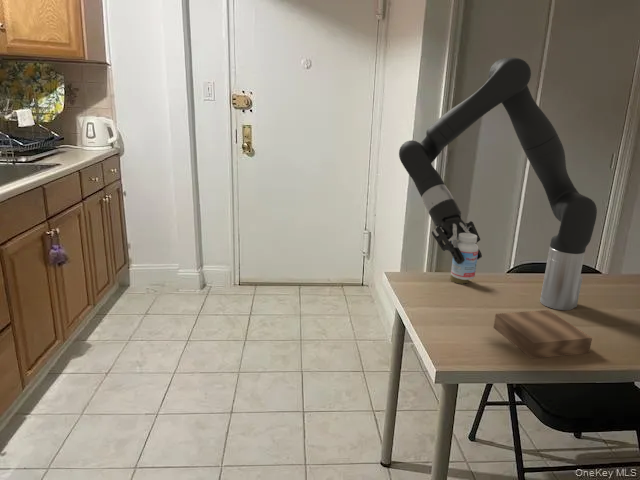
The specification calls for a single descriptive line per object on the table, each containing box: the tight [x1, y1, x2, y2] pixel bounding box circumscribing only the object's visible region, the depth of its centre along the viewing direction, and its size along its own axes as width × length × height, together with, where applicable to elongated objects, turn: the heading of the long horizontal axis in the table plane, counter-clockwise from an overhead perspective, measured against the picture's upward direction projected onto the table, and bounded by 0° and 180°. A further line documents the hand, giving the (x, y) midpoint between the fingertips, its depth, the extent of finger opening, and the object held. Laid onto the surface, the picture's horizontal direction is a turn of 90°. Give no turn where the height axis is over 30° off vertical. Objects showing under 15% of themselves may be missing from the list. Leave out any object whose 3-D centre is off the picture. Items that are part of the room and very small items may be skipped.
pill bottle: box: [450, 233, 480, 281], centre depth 132 cm, size 6×6×11 cm
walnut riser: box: [493, 309, 593, 359], centre depth 128 cm, size 16×16×4 cm
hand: (470, 260), depth 130 cm, fingers closed on pill bottle, 6 cm apart
